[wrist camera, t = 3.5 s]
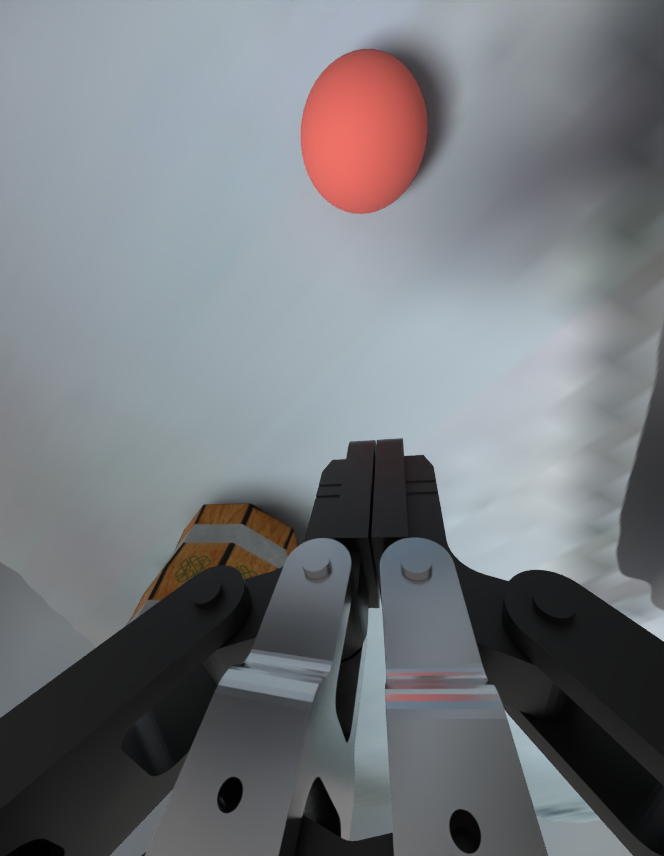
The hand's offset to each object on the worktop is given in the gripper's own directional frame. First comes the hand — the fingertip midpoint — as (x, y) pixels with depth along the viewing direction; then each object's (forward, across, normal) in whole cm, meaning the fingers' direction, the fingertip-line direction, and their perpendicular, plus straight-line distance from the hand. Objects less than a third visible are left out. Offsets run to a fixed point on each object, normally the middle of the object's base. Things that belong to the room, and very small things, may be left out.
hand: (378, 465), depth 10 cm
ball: (+13, 0, -10) cm, 16 cm away
